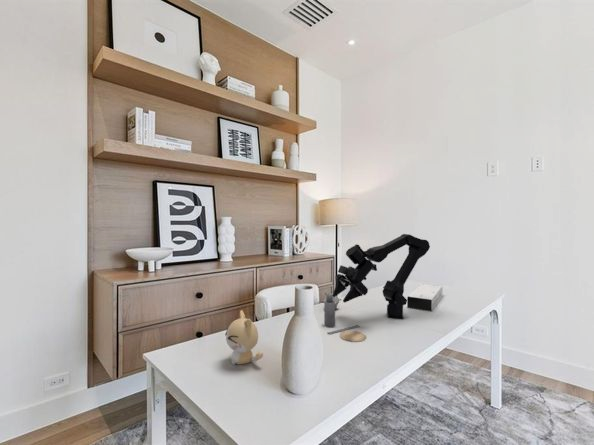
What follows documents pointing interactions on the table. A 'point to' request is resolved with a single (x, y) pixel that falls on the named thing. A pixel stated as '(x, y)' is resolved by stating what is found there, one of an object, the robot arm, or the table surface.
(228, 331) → the kitten
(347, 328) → the felt line
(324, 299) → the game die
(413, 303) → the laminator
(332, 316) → the grey stepped cylinder
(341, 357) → the table surface
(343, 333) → the cork coaster
